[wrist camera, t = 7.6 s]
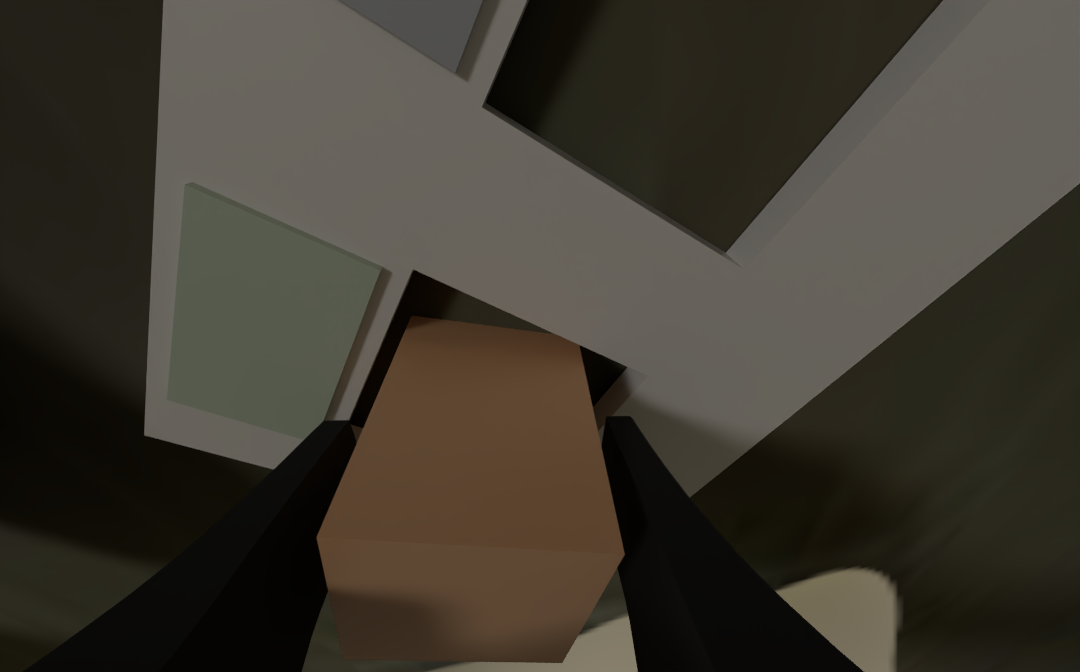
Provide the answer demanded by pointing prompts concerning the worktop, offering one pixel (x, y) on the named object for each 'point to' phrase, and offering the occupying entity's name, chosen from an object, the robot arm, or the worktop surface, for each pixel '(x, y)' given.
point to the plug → (472, 503)
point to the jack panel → (557, 219)
